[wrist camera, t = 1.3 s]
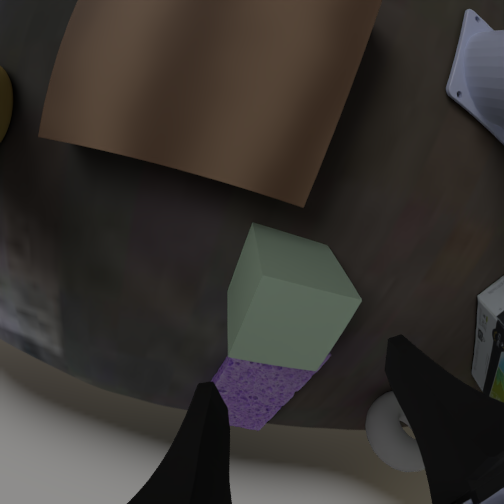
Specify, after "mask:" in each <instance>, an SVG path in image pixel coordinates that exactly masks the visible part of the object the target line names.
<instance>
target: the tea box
mask: <svg viewBox="0 0 504 504" xmlns="http://www.w3.org/2000/svg"><path fill="white" fill-rule="evenodd" d="M477 298H478V309H477V327H476V340H475V347H474V358H473V364H472V375H473V377H474V379H475V380H476V382H477V384H478V385H479V387H480V388H481V390H482V392H483V393H484V394H485V395H487V396H490V397H492V398H494V399H496V400H499V401H501V402H504V276H502V277H501V278H500V279H499V280H497V281H496V282H495V283H493V284H492V285H491V286H489V287H488V288H487V289H486V290H484V291H483V292H482V293H480V294H479V295H478V296H477Z"/></svg>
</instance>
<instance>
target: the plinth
mask: <svg viewBox="0 0 504 504" xmlns="http://www.w3.org/2000/svg"><path fill="white" fill-rule="evenodd" d="M381 2H382V0H78V1H77V4H76V6H75V8H74V11H73V13H72V15H71V18H70V20H69V23H68V26H67V28H66V31H65V34H64V36H63V39H62V42H61V45H60V48H59V51H58V54H57V57H56V61H55V64H54V67H53V71H52V75H51V78H50V82H49V86H48V90H47V94H46V98H45V103H44V108H43V112H42V117H41V123H40V128H39V134H38V137H41V138H46V139H51V140H56V141H61V142H66V143H71V144H76V145H80V146H85V147H90V148H94V149H99V150H103V151H107V152H111V153H116V154H120V155H124V156H128V157H132V158H136V159H140V160H144V161H148V162H152V163H156V164H160V165H163V166H167V167H171V168H175V169H178V170H182V171H186V172H189V173H193V174H196V175H200V176H203V177H207V178H210V179H214V180H217V181H220V182H224V183H227V184H231V185H234V186H237V187H240V188H244V189H247V190H250V191H253V192H257V193H260V194H263V195H266V196H269V197H272V198H275V199H278V200H281V201H284V202H287V203H290V204H293V205H296V206H299V207H302V208H304V206H305V203H306V201H307V198H308V196H309V193H310V191H311V189H312V186H313V184H314V181H315V179H316V176H317V174H318V171H319V169H320V166H321V164H322V161H323V159H324V156H325V154H326V151H327V149H328V146H329V144H330V141H331V139H332V136H333V134H334V131H335V128H336V126H337V123H338V121H339V118H340V115H341V113H342V110H343V108H344V105H345V102H346V100H347V97H348V94H349V92H350V89H351V86H352V84H353V81H354V78H355V76H356V73H357V70H358V67H359V65H360V62H361V59H362V56H363V54H364V51H365V48H366V45H367V43H368V40H369V37H370V34H371V31H372V28H373V26H374V23H375V20H376V17H377V14H378V11H379V8H380V5H381Z"/></svg>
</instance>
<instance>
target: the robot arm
mask: <svg viewBox="0 0 504 504" xmlns="http://www.w3.org/2000/svg"><path fill="white" fill-rule="evenodd" d="M475 19H476V20H475ZM446 92H447V94H448V96H449V97H450V98H452V99H453V100H454V101H455V102H457V103H458V104H459V105H460V106H462V107H463V108H464V109H465V110H466V111H468V112H469V113H470V114H471V115H472V116H473V117H475V118H476V119H477V120H478V121H479V122H480V123H481V124H482V125H483V126H484V127H486V128H487V129H488V130H489V131H490V132H491V133H492V134H493V135H494V136H495V137H496V138H497V139H498V140H499V141H500V142H501V143H502V144H503V145H504V30H497V31H494V30H493V29H492V28H491V27H490V26H489V25H488V24H487V23H486V22H485V21H484V20H483V19H482V18H481V17H479V16H478V15H477V14H476V13H475V12H474V11H473V10H471V9H468V10H466V11H465V15H464V20H463V24H462V29H461V34H460V38H459V42H458V46H457V50H456V54H455V58H454V62H453V65H452V69H451V73H450V76H449V79H448V83H447V86H446ZM457 92H458V94H459V96H458V97H457ZM385 372H386V375H387V378H388V380H389V383H390V386H391V388H392V391H393V393H394V395H395V397H396V399H397V401H398V403H399V405H400V407H401V409H402V410H403V412H404V414H405V416H406V418H407V420H408V422H409V424H410V426H411V428H412V431H413V433H414V435H415V437H416V441H417V444H418V447H419V450H420V453H421V456H422V460H423V463H424V467H425V470H426V475H427V478H428V483H429V487H430V493H431V499H432V504H504V402H501V401H499V400H496V399H494V398H492V397H490V396H487V395H485V394H483V393H481V392H479V391H477V390H475V389H474V388H472V387H470V386H468V385H467V384H465V383H463V382H462V381H460V380H459V379H457V378H456V377H454V376H453V375H451V374H450V373H448V372H447V371H446V370H444V369H443V368H442V367H440V366H439V365H438V364H437V363H435V362H434V361H433V360H431V359H430V358H429V357H428V356H426V355H425V354H424V353H423V352H422V351H420V350H419V349H418V348H417V347H416V346H415V345H413V344H412V343H411V342H410V341H409V340H408V339H407V338H405V337H404V336H403V335H398V336H395V337H392V338H389V339H388V346H387V355H386V364H385ZM229 452H230V424H229V415H228V408H227V406H226V404H225V402H224V400H223V398H222V397H221V395H220V393H219V391H218V389H217V387H216V386H215V384H214V382H213V381H212V382H206V383H199V384H198V385H197V388H196V391H195V393H194V396H193V399H192V401H191V404H190V406H189V409H188V411H187V414H186V416H185V418H184V420H183V423H182V425H181V427H180V429H179V431H178V433H177V435H176V437H175V439H174V441H173V443H172V445H171V447H170V449H169V450H168V452H167V454H166V455H165V457H164V459H163V460H162V462H161V463H160V465H159V466H158V468H157V469H156V471H155V472H154V473H153V475H152V476H151V478H150V479H149V480H148V481H147V482H146V484H145V485H144V486H143V487H142V488H141V489H140V491H139V492H138V493H137V494H136V495H135V496H134V497H133V498H132V499H131V500H130V501H129V502H128V503H127V504H232V502H231V492H230V483H229V455H230V453H229Z"/></svg>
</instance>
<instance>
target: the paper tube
mask: <svg viewBox="0 0 504 504" xmlns="http://www.w3.org/2000/svg"><path fill="white" fill-rule="evenodd" d="M12 110H13V89H12V84H11V81H10V78H9V76H8V74H7V73H6V71H5V70H4V69H3V68H2V67H1V66H0V143H1V141H2V140H3V138H4V136H5V134H6V132H7V129H8V127H9V124H10V120H11V116H12Z"/></svg>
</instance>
